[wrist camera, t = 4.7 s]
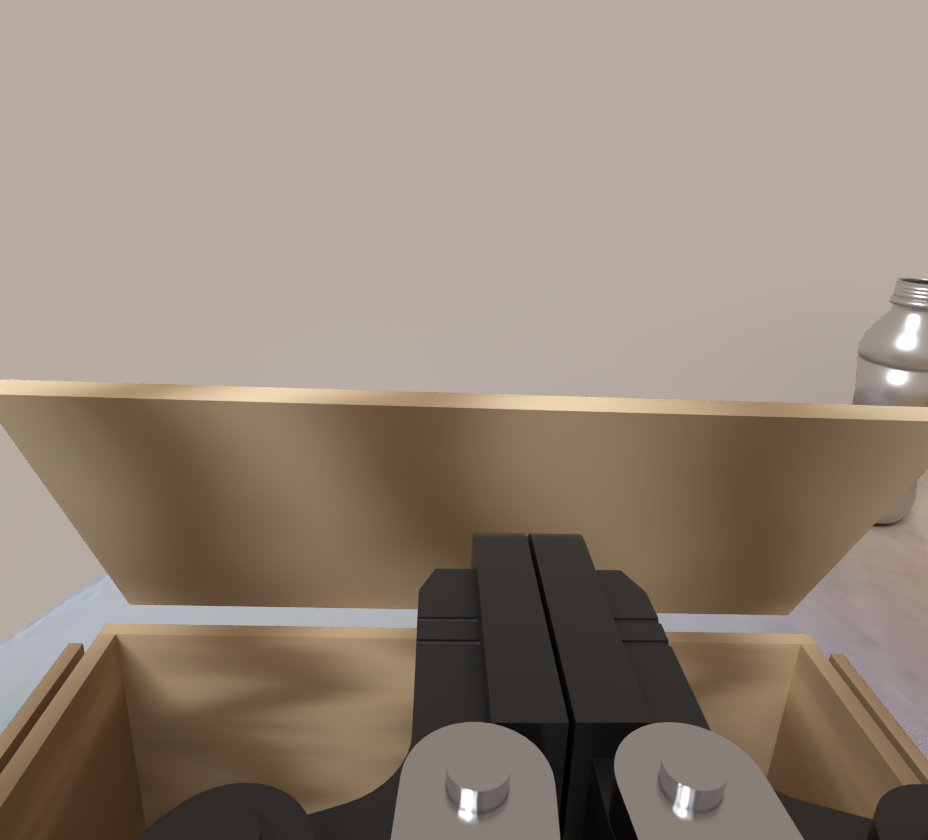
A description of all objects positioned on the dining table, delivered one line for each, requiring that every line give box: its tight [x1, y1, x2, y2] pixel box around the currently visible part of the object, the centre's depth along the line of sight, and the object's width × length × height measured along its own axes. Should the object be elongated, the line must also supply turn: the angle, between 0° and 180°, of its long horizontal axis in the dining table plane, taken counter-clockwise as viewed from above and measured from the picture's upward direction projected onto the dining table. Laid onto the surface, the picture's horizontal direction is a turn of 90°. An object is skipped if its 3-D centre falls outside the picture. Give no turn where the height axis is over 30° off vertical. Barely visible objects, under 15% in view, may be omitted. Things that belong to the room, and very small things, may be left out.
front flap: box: [0, 379, 928, 615], centre depth 19 cm, size 21×10×1 cm
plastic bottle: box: [852, 278, 928, 524], centre depth 58 cm, size 6×7×20 cm
